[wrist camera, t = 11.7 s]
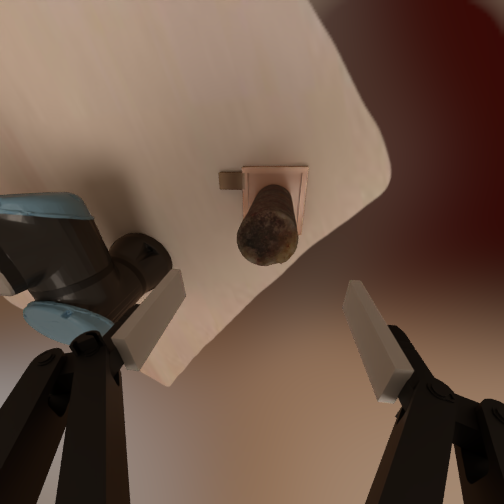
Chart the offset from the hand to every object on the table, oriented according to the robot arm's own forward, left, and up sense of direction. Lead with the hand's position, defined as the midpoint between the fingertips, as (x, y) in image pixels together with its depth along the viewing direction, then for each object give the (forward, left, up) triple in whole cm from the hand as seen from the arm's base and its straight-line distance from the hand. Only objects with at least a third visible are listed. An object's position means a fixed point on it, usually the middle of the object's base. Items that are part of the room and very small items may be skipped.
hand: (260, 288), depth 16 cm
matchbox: (-8, +4, -28) cm, 30 cm away
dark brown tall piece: (0, 0, -28) cm, 28 cm away
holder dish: (0, 0, -28) cm, 28 cm away
